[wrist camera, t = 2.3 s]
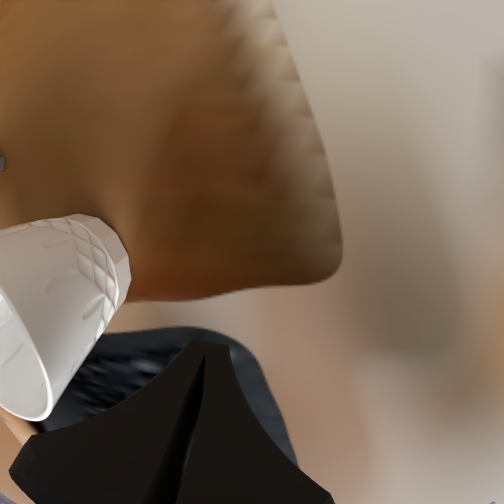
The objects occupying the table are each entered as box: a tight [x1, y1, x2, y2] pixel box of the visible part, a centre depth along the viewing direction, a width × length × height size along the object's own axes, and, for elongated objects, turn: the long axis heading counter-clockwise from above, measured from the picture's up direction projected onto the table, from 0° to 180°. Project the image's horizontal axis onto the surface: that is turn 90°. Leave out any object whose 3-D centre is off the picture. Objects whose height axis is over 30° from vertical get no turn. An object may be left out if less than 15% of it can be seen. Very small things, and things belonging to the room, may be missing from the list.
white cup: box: [0, 214, 131, 421], centre depth 11 cm, size 8×8×10 cm
